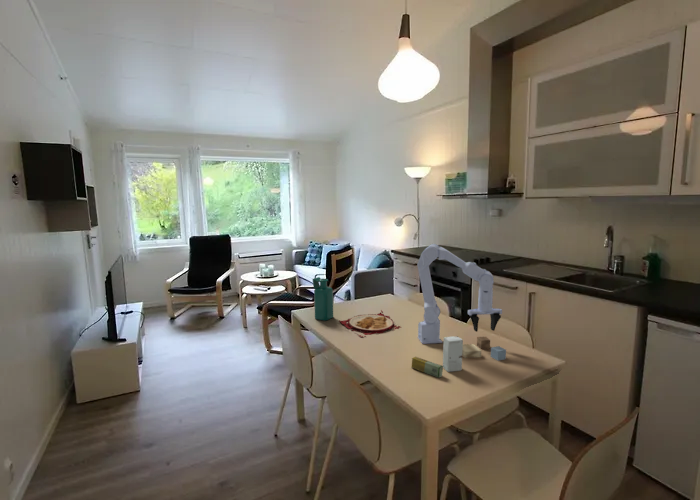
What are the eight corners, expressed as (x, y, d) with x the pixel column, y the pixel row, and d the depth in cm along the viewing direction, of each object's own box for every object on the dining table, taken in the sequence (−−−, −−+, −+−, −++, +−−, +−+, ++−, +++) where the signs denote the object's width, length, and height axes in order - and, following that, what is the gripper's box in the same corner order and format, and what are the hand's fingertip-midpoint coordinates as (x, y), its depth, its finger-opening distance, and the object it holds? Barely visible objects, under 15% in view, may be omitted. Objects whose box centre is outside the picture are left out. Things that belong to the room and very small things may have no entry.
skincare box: (447, 372, 134) (448, 341, 133) (442, 367, 139) (442, 337, 137) (462, 370, 136) (463, 339, 134) (456, 365, 140) (457, 335, 138)
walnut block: (480, 349, 155) (481, 340, 154) (476, 345, 159) (477, 336, 158) (489, 348, 155) (490, 340, 154) (485, 345, 159) (485, 336, 158)
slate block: (497, 360, 143) (498, 351, 143) (490, 356, 147) (491, 347, 147) (505, 359, 145) (506, 349, 144) (498, 355, 149) (498, 346, 148)
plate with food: (338, 323, 190) (338, 317, 190) (380, 315, 202) (380, 308, 202) (361, 340, 169) (360, 333, 168) (407, 329, 180) (407, 322, 180)
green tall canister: (334, 317, 199) (334, 278, 196) (325, 321, 192) (324, 281, 189) (320, 314, 204) (319, 276, 201) (311, 318, 197) (310, 279, 194)
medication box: (442, 376, 132) (443, 365, 131) (439, 378, 130) (440, 367, 129) (414, 365, 140) (415, 355, 139) (410, 367, 138) (411, 357, 137)
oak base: (464, 358, 146) (464, 351, 146) (457, 351, 153) (458, 344, 153) (481, 357, 147) (481, 350, 147) (473, 350, 154) (473, 344, 153)
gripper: (473, 303, 149) (472, 334, 151) (506, 301, 151) (504, 332, 152) (466, 298, 156) (465, 328, 158) (497, 297, 157) (496, 327, 159)
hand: (484, 330), depth 156 cm, fingers open, 7 cm apart
